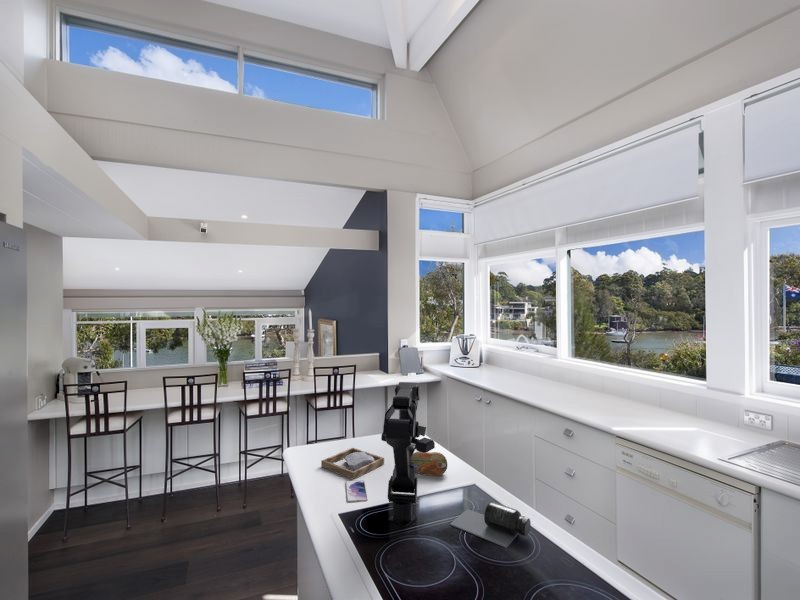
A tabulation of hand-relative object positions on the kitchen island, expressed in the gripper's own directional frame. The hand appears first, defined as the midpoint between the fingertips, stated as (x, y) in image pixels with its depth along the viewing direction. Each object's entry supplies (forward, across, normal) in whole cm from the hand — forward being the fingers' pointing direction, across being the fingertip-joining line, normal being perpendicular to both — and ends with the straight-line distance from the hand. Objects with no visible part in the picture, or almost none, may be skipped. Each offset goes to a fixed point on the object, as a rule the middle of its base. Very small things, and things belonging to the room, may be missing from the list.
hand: (407, 465), depth 136 cm
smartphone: (+13, +18, +6) cm, 23 cm away
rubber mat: (+12, -28, -2) cm, 31 cm away
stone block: (+12, +33, -11) cm, 37 cm away
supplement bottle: (+8, -28, -4) cm, 29 cm away
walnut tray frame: (+12, +34, -9) cm, 37 cm away
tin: (+12, +6, -22) cm, 26 cm away
